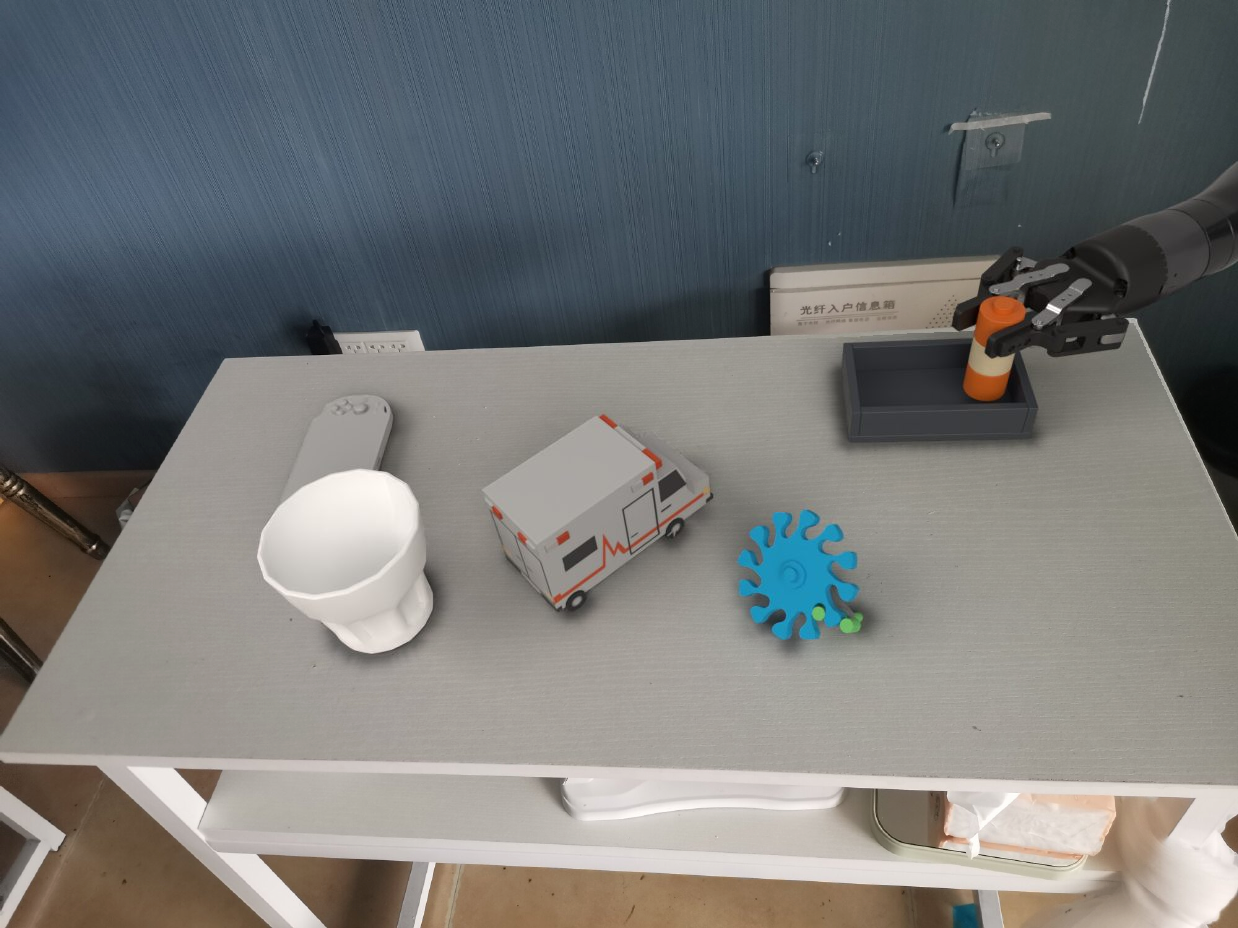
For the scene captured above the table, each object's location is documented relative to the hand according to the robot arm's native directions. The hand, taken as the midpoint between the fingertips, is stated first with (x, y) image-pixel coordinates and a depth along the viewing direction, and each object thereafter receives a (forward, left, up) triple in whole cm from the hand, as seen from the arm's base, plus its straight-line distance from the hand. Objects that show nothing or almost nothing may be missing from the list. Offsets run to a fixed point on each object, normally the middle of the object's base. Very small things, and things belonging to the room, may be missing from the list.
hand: (972, 334), depth 75 cm
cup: (+29, +46, -10) cm, 55 cm away
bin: (+3, 0, -10) cm, 10 cm away
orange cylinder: (-1, -3, -8) cm, 8 cm away
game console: (+45, +38, -10) cm, 59 cm away
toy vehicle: (+18, +29, -10) cm, 35 cm away
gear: (+1, +26, -10) cm, 28 cm away
